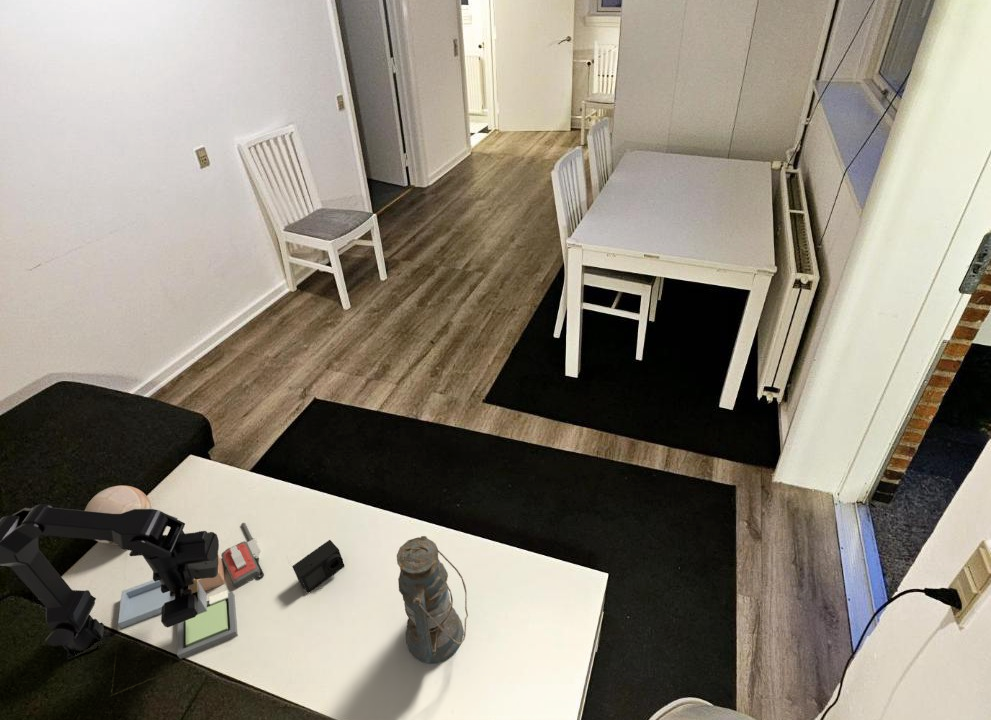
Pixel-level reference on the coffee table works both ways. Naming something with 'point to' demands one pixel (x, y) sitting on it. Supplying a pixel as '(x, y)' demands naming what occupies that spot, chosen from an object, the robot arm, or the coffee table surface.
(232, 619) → the checker frame
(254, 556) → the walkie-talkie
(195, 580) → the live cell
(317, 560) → the digital camera
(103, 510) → the ornament
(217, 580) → the cup
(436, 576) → the lantern
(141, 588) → the tray
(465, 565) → the coffee table surface
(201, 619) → the light green square plate
